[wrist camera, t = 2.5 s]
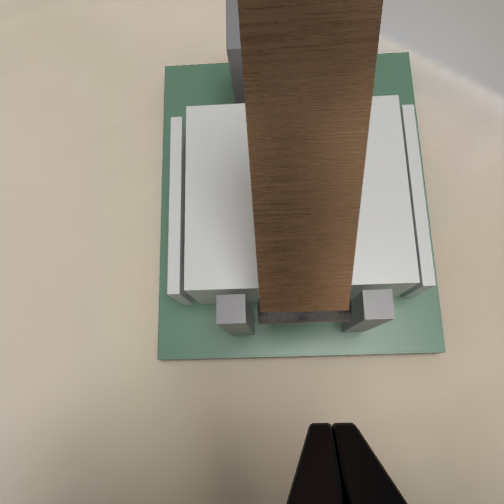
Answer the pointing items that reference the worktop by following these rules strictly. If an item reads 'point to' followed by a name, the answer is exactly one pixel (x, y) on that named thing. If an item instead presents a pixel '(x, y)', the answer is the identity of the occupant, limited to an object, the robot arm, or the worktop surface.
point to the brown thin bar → (307, 148)
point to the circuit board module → (243, 236)
